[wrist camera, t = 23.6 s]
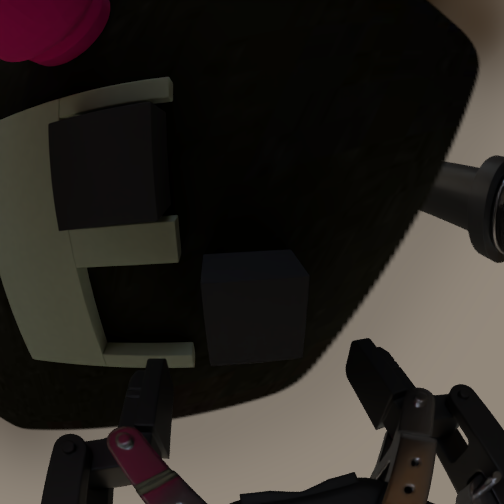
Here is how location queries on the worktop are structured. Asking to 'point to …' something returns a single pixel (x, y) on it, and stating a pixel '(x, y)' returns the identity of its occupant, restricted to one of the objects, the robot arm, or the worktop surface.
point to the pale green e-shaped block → (72, 241)
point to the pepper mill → (50, 29)
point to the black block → (254, 306)
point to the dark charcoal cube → (110, 167)
